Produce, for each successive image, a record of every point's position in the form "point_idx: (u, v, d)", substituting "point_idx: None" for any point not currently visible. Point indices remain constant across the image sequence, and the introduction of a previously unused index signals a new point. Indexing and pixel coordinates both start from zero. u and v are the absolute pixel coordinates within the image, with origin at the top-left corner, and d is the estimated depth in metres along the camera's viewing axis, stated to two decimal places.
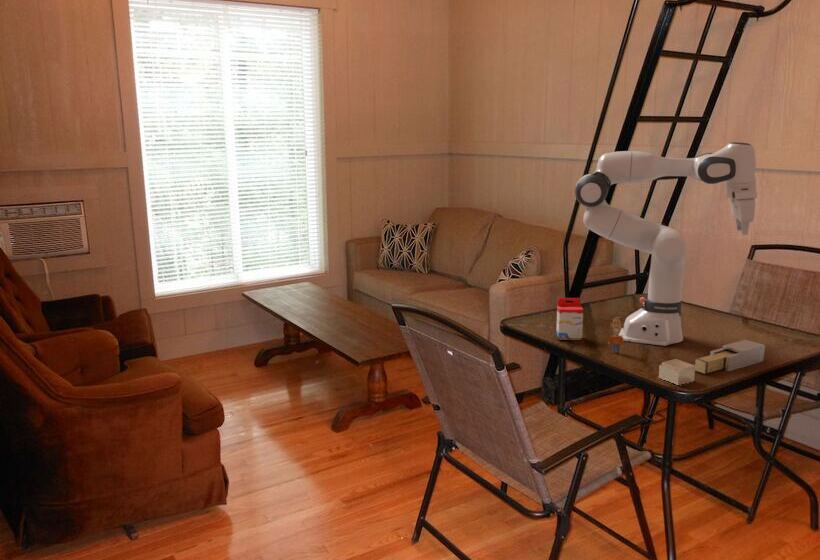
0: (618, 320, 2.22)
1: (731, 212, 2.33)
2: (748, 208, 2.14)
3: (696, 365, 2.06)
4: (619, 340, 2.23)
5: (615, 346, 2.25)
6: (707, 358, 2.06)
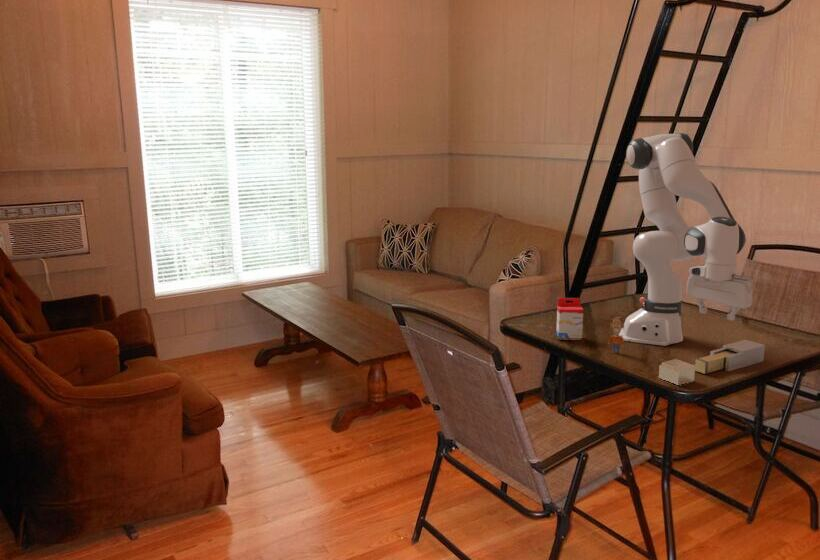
0: (618, 320, 2.22)
1: None
2: None
3: (696, 365, 2.06)
4: (619, 340, 2.23)
5: (615, 346, 2.25)
6: (707, 358, 2.06)
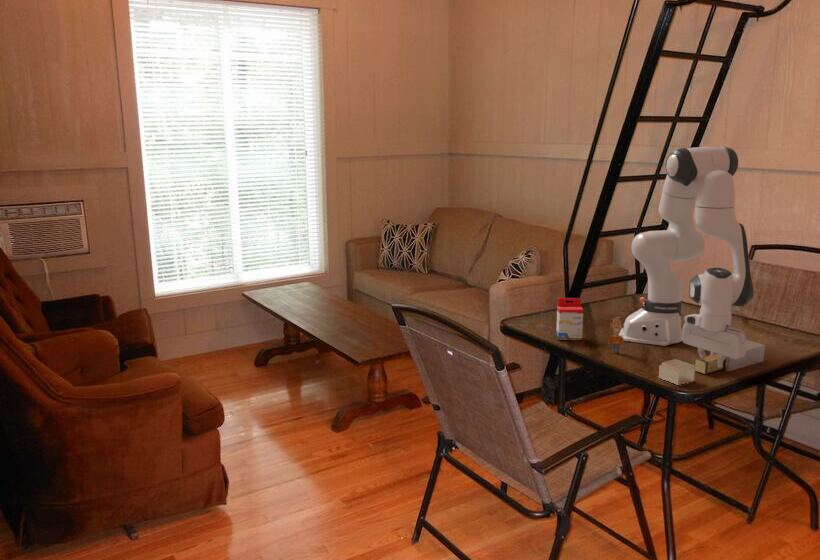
0: (618, 320, 2.22)
1: None
2: None
3: (696, 365, 2.06)
4: (619, 340, 2.23)
5: (615, 346, 2.25)
6: (707, 358, 2.06)
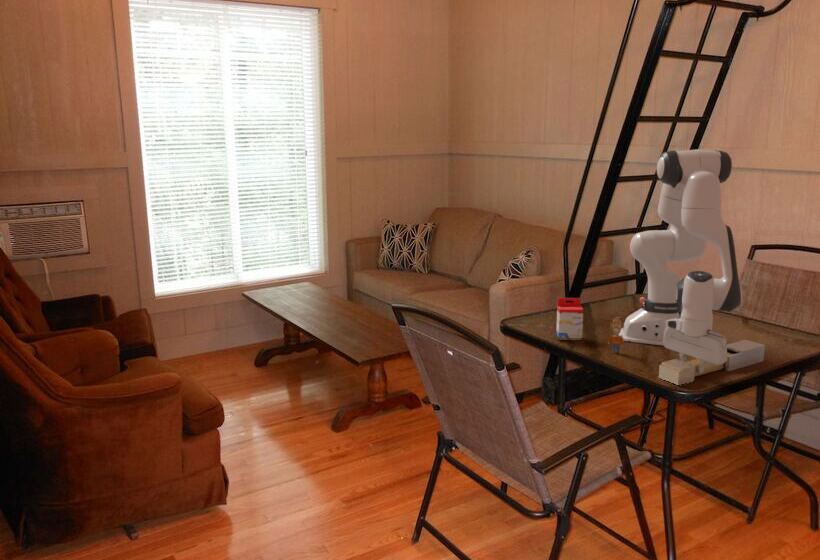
0: (618, 320, 2.22)
1: None
2: None
3: None
4: (619, 340, 2.23)
5: (615, 346, 2.25)
6: None
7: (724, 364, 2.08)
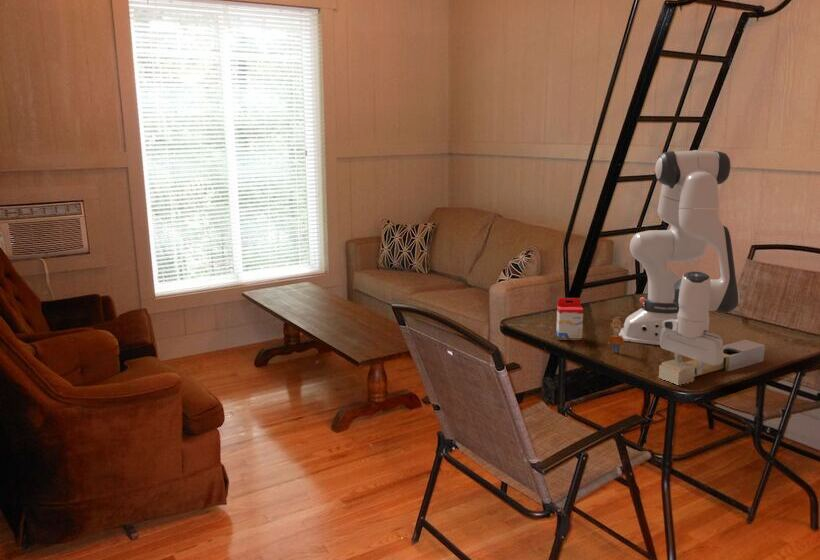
0: (618, 320, 2.22)
1: None
2: None
3: None
4: (619, 340, 2.23)
5: (615, 346, 2.25)
6: None
7: (721, 365, 2.07)
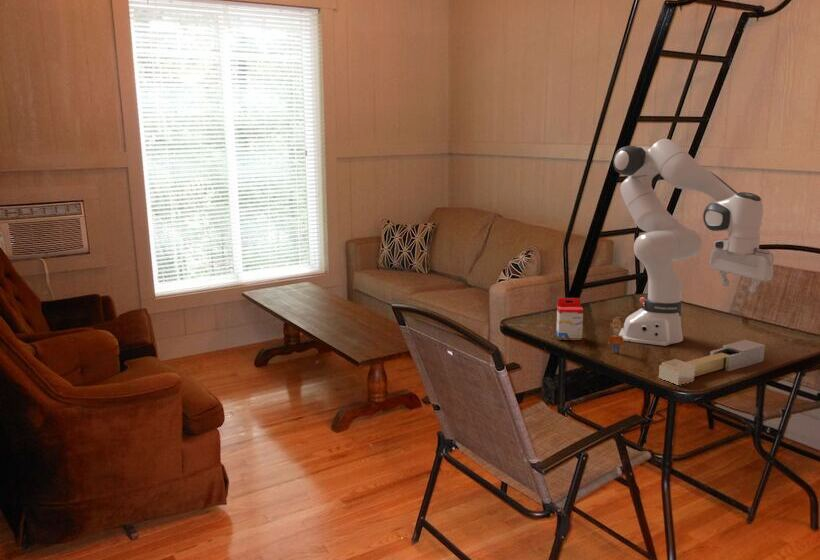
0: (618, 320, 2.22)
1: None
2: None
3: None
4: (619, 340, 2.23)
5: (615, 346, 2.25)
6: None
7: (721, 365, 2.07)
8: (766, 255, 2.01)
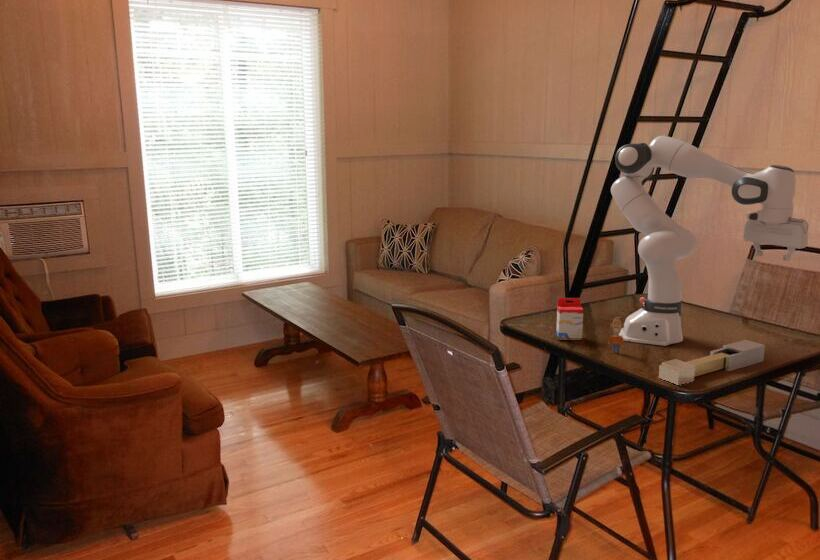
0: (618, 320, 2.22)
1: None
2: None
3: None
4: (619, 340, 2.23)
5: (615, 346, 2.25)
6: None
7: (721, 365, 2.07)
8: (801, 223, 2.10)
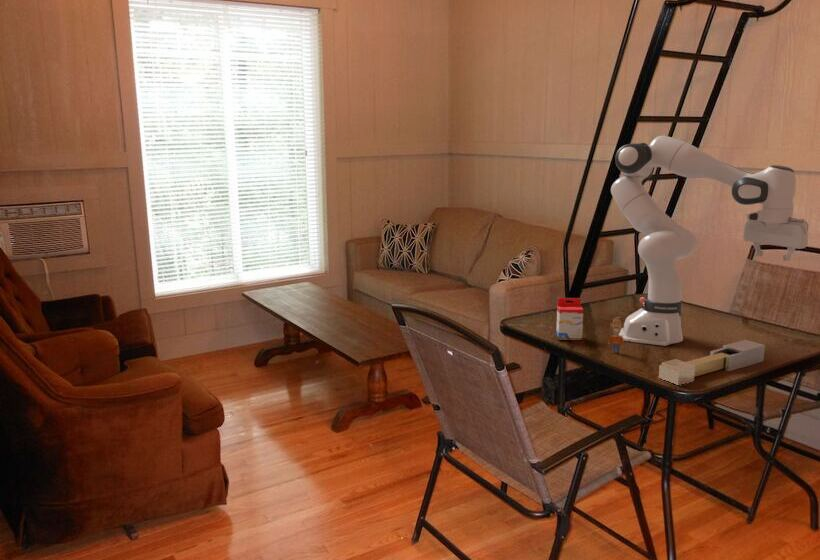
0: (618, 320, 2.22)
1: None
2: None
3: None
4: (619, 340, 2.23)
5: (615, 346, 2.25)
6: None
7: (721, 365, 2.07)
8: (801, 224, 2.10)
